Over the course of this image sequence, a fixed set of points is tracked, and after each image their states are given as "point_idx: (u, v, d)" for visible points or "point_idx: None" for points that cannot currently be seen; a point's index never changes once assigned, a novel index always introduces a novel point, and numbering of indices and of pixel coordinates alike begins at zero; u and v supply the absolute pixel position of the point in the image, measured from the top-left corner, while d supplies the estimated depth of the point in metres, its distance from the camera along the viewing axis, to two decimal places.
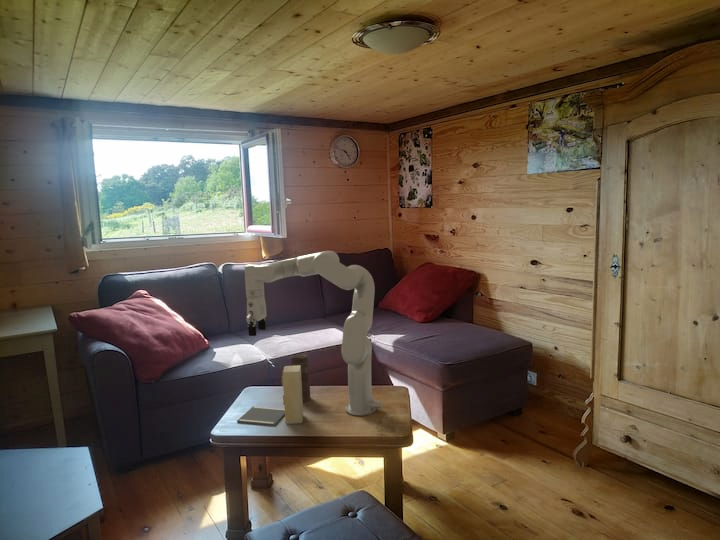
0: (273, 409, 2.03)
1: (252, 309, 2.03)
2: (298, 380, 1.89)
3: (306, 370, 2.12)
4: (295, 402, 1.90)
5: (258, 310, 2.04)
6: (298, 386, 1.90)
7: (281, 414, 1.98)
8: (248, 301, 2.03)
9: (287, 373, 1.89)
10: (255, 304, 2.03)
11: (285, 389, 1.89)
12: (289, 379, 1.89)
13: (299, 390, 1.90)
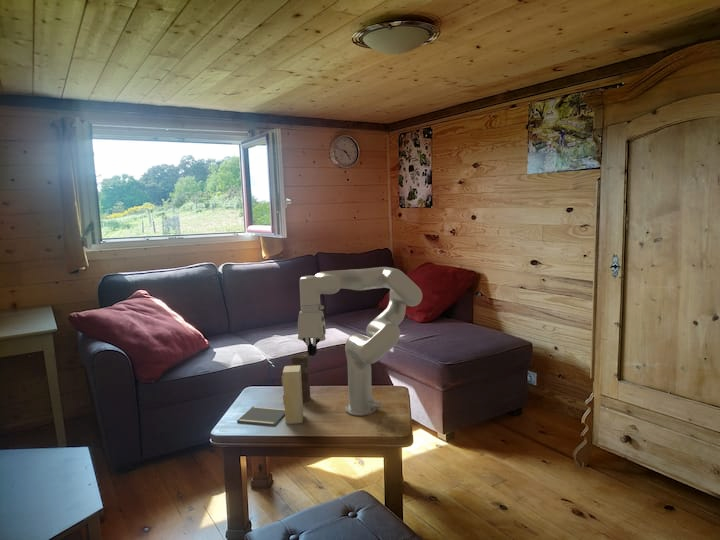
0: (273, 409, 2.03)
1: (324, 323, 1.87)
2: (298, 380, 1.89)
3: (306, 370, 2.12)
4: (295, 402, 1.90)
5: None
6: (298, 386, 1.90)
7: (281, 414, 1.98)
8: (320, 316, 1.85)
9: (287, 373, 1.89)
10: (323, 317, 1.88)
11: (285, 389, 1.89)
12: (289, 379, 1.89)
13: (299, 390, 1.90)
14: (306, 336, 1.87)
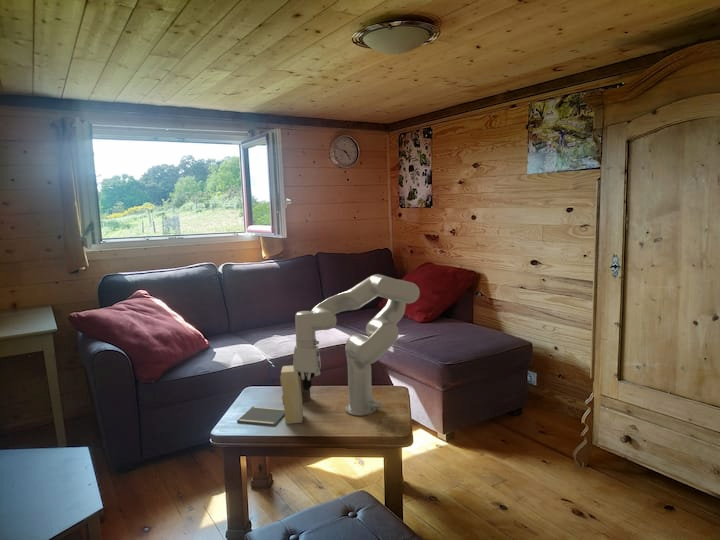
0: (273, 409, 2.03)
1: (319, 358, 1.90)
2: (296, 380, 1.89)
3: None
4: (295, 402, 1.90)
5: None
6: (297, 385, 1.90)
7: (281, 414, 1.98)
8: (316, 351, 1.88)
9: (285, 373, 1.89)
10: None
11: (284, 389, 1.89)
12: (288, 379, 1.89)
13: (298, 390, 1.90)
14: (301, 371, 1.89)
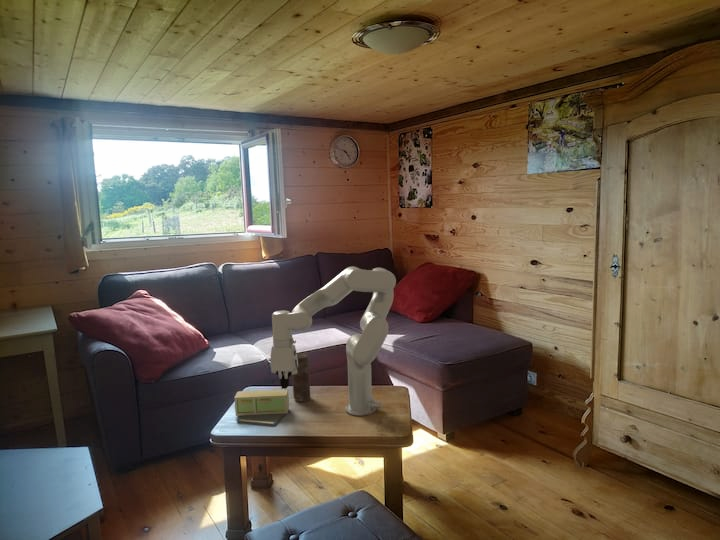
0: None
1: (296, 357, 1.92)
2: (245, 391, 2.03)
3: (306, 370, 2.12)
4: (266, 391, 2.02)
5: None
6: (251, 391, 2.03)
7: (281, 414, 1.98)
8: (292, 350, 1.90)
9: (236, 396, 1.99)
10: None
11: (251, 396, 1.98)
12: (243, 394, 2.00)
13: None
14: (278, 370, 1.92)
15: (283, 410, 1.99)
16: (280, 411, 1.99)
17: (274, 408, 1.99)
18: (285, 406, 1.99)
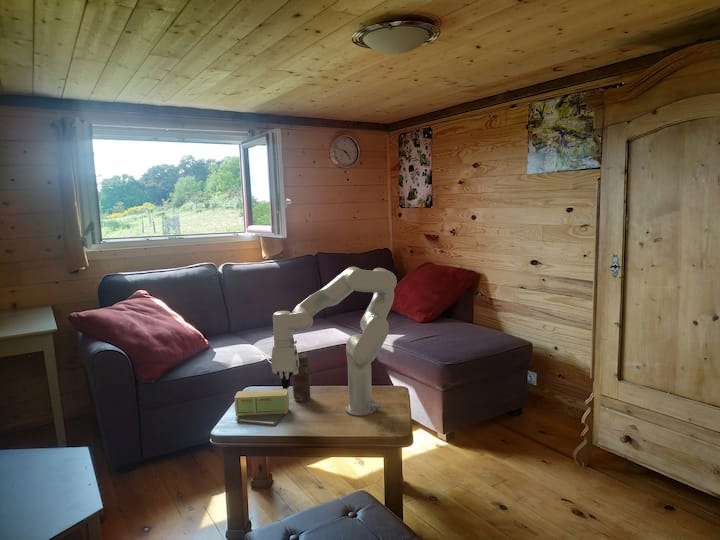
0: None
1: (297, 357, 1.92)
2: (245, 391, 2.03)
3: (306, 370, 2.12)
4: (266, 391, 2.02)
5: None
6: (251, 391, 2.03)
7: (281, 414, 1.98)
8: (293, 350, 1.90)
9: (236, 396, 1.99)
10: None
11: (251, 396, 1.98)
12: (243, 394, 2.00)
13: None
14: (279, 370, 1.92)
15: (283, 410, 1.99)
16: (280, 411, 1.99)
17: (274, 408, 1.99)
18: (285, 406, 1.99)
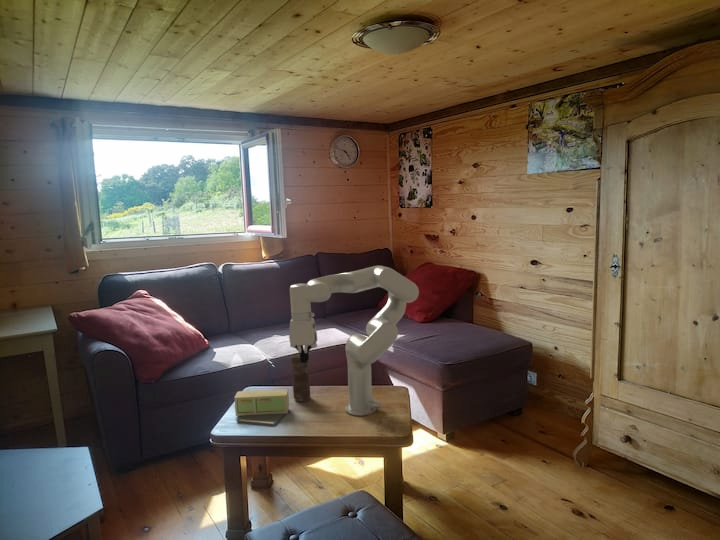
0: None
1: (315, 330, 1.89)
2: (245, 391, 2.03)
3: (306, 370, 2.12)
4: (266, 391, 2.02)
5: None
6: (251, 391, 2.03)
7: (281, 414, 1.98)
8: (311, 323, 1.87)
9: (236, 396, 1.99)
10: None
11: (251, 396, 1.98)
12: (243, 394, 2.00)
13: None
14: (298, 344, 1.88)
15: (283, 410, 1.99)
16: (280, 411, 1.99)
17: (274, 408, 1.99)
18: (285, 406, 1.99)
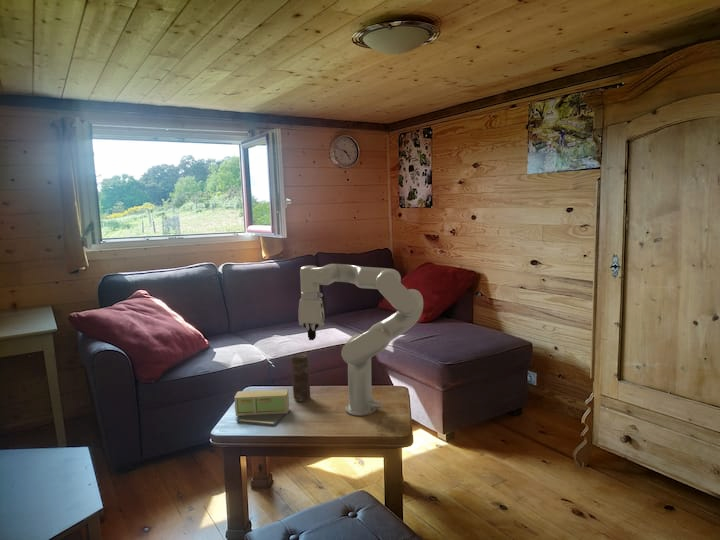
0: None
1: (322, 310, 2.02)
2: (245, 391, 2.03)
3: (306, 370, 2.12)
4: (266, 391, 2.02)
5: None
6: (251, 391, 2.03)
7: (281, 414, 1.98)
8: (319, 303, 2.00)
9: (236, 396, 1.99)
10: (322, 304, 2.03)
11: (251, 396, 1.98)
12: (243, 394, 2.00)
13: None
14: (306, 322, 2.01)
15: (283, 410, 1.99)
16: (280, 411, 1.99)
17: (274, 408, 1.99)
18: (285, 406, 1.99)
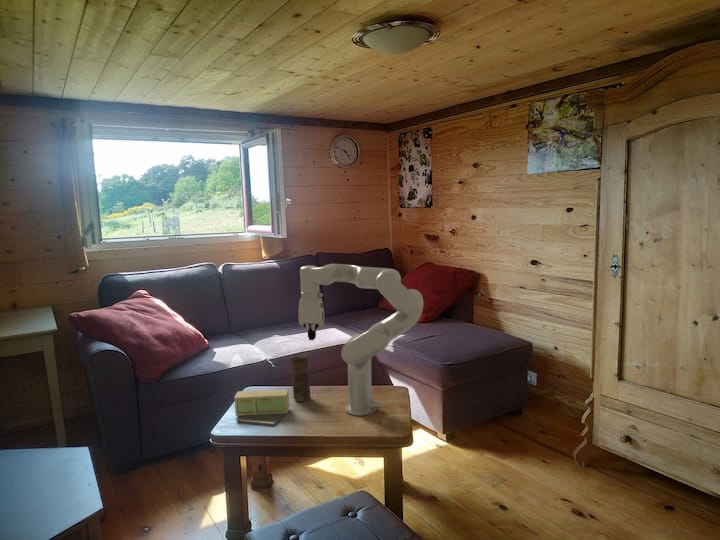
0: None
1: (322, 310, 2.02)
2: (245, 391, 2.03)
3: (306, 370, 2.12)
4: (266, 391, 2.02)
5: None
6: (251, 391, 2.03)
7: (281, 414, 1.98)
8: (319, 303, 2.00)
9: (236, 396, 1.99)
10: (322, 304, 2.03)
11: (251, 396, 1.98)
12: (243, 394, 2.00)
13: None
14: (306, 322, 2.01)
15: (283, 410, 1.99)
16: (280, 411, 1.99)
17: (274, 408, 1.99)
18: (285, 406, 1.99)
